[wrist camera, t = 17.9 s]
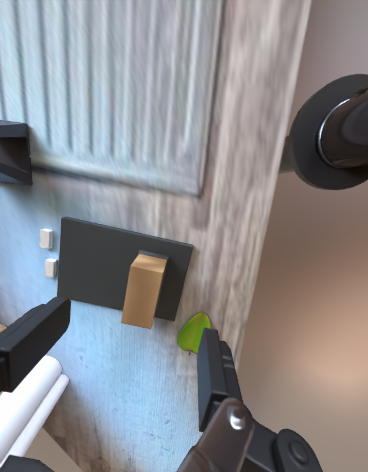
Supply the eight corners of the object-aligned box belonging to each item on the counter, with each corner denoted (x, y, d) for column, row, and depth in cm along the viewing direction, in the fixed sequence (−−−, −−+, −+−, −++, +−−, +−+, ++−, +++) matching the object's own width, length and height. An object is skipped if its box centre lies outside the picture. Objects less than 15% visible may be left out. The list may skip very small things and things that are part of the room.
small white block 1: (40, 229, 31) (44, 228, 32) (39, 247, 32) (44, 245, 33) (49, 231, 31) (53, 230, 32) (48, 249, 32) (52, 247, 33)
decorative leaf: (167, 332, 37) (166, 335, 36) (202, 309, 35) (202, 312, 34) (191, 358, 38) (191, 362, 37) (226, 337, 36) (227, 341, 35)
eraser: (169, 256, 31) (164, 271, 26) (158, 306, 34) (151, 330, 28) (140, 249, 31) (129, 264, 25) (131, 300, 34) (119, 323, 28)
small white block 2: (45, 260, 32) (49, 257, 33) (44, 276, 33) (48, 273, 34) (53, 261, 32) (57, 259, 33) (52, 278, 33) (56, 275, 34)
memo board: (192, 244, 32) (193, 247, 31) (174, 316, 36) (174, 321, 35) (65, 216, 31) (61, 217, 30) (61, 293, 35) (56, 296, 34)
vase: (26, 356, 39) (-133, 523, 20) (58, 353, 39) (-72, 520, 19) (44, 396, 42) (-80, 576, 22) (74, 393, 41) (-25, 574, 22)
